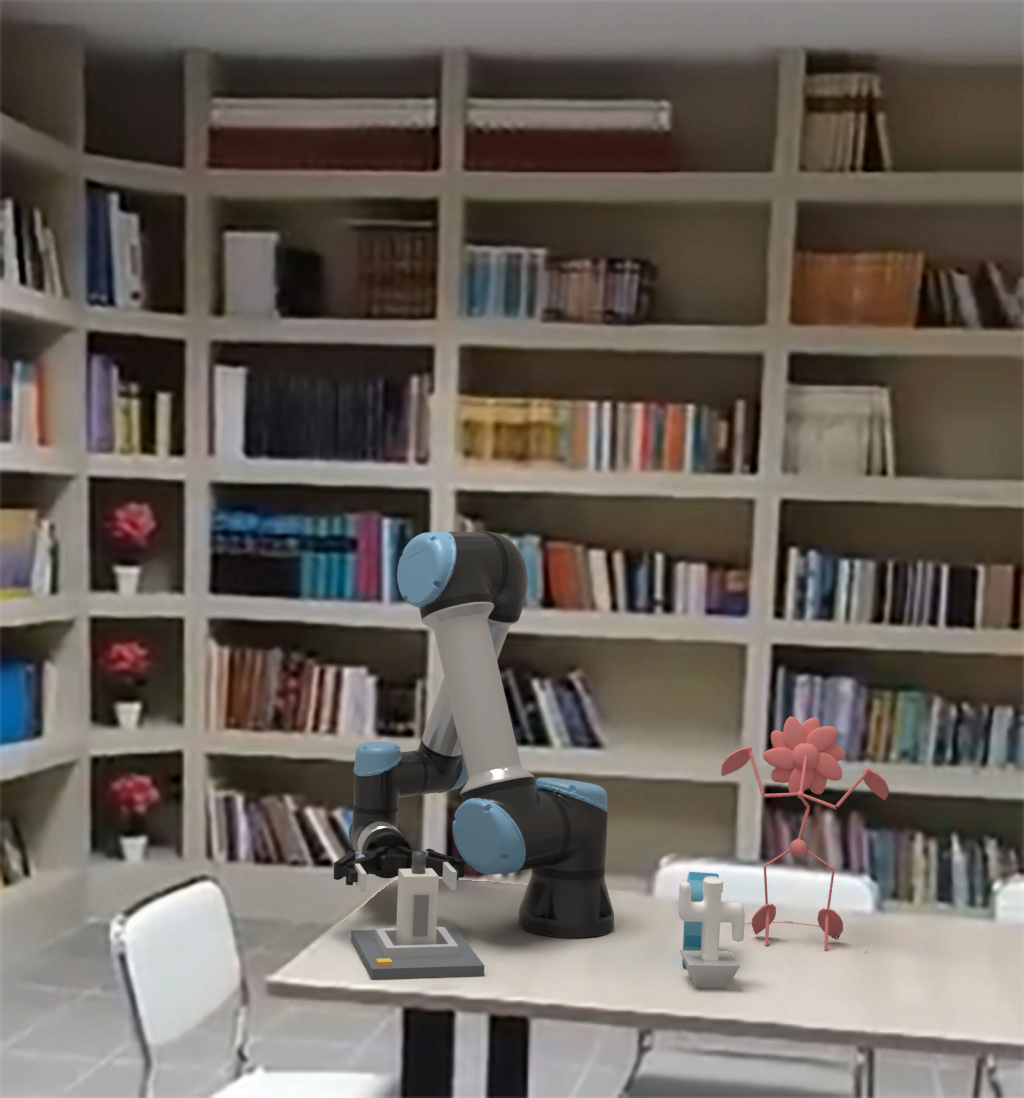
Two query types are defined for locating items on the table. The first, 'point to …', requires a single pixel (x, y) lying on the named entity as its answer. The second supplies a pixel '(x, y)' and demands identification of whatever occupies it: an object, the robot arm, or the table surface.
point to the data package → (694, 929)
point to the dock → (416, 955)
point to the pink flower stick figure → (803, 764)
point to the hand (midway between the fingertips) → (409, 882)
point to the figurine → (711, 934)
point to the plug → (417, 903)
